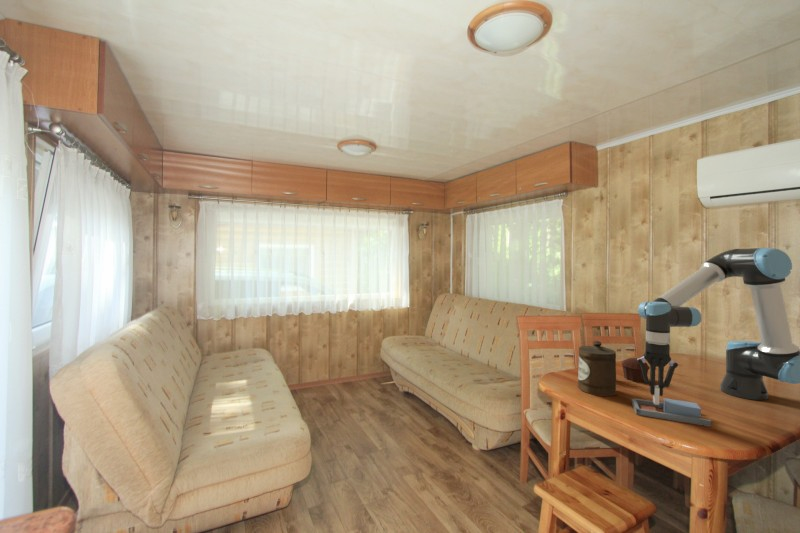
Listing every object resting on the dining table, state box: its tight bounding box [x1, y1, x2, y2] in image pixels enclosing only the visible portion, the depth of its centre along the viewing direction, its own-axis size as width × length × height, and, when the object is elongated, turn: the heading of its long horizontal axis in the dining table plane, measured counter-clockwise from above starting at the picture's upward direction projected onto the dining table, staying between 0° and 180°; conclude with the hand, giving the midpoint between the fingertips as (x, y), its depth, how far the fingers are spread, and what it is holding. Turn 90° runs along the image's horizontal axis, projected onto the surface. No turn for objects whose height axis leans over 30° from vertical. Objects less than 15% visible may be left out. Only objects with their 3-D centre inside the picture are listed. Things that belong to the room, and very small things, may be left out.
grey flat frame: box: [631, 397, 712, 427], centre depth 136 cm, size 22×12×2 cm, turn 65°
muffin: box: [621, 357, 650, 383], centre depth 175 cm, size 12×11×10 cm
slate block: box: [662, 397, 702, 418], centre depth 134 cm, size 10×6×5 cm, turn 62°
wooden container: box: [577, 340, 617, 397], centre depth 160 cm, size 15×15×22 cm
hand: (656, 403), depth 137 cm, fingers closed
